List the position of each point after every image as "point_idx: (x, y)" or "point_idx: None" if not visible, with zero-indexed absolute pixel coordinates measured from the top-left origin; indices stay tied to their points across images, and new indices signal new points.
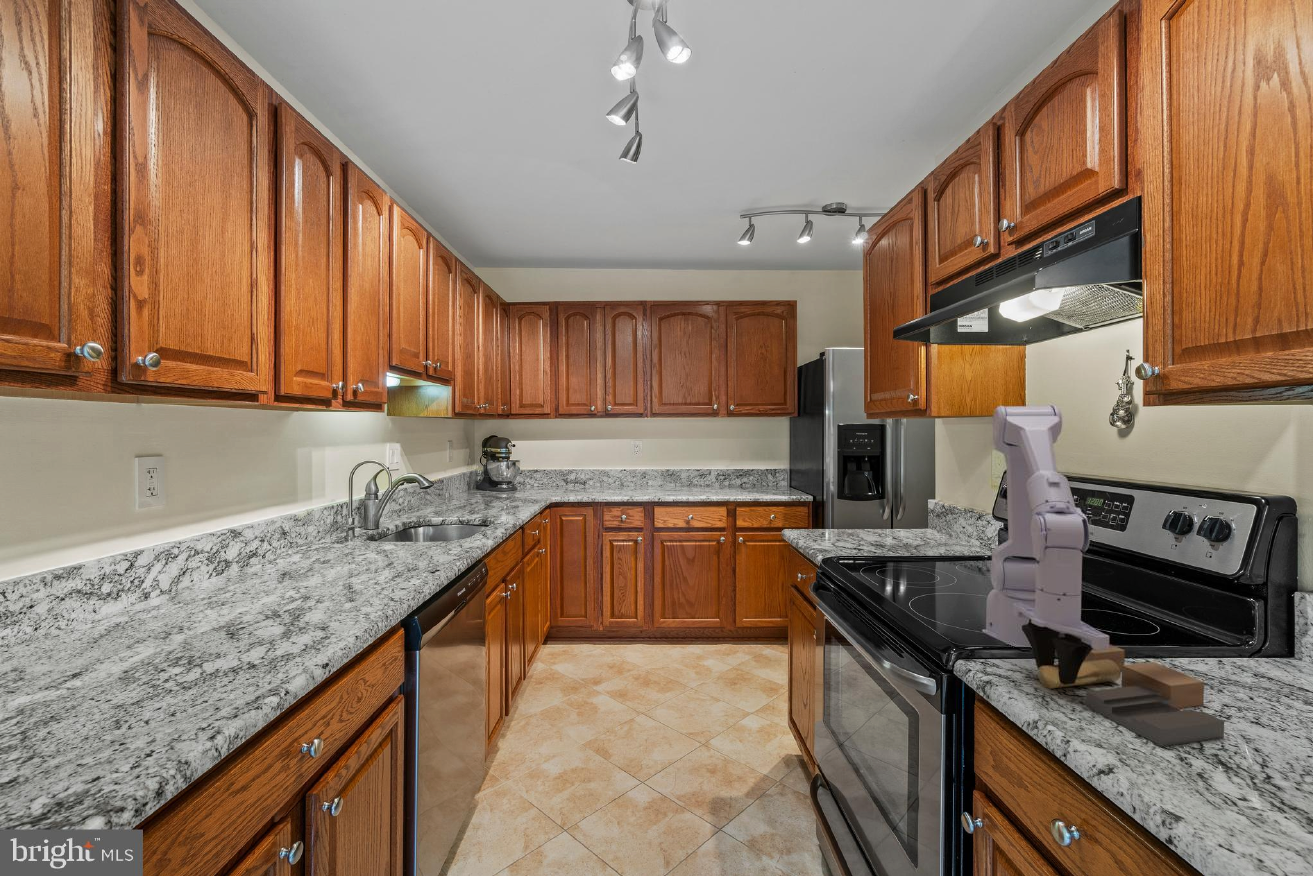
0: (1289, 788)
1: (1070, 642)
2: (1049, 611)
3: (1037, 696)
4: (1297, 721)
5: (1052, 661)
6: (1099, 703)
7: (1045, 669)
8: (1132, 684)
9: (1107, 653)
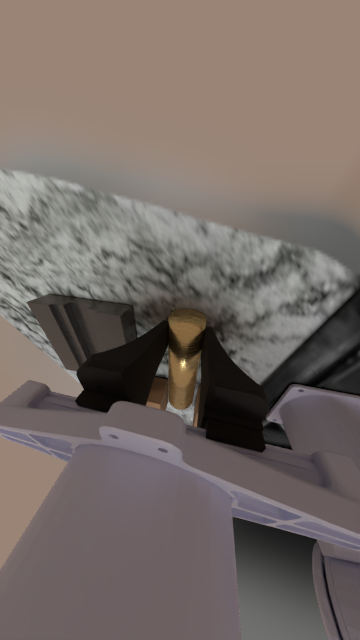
0: (16, 324)
1: (85, 380)
2: (47, 565)
3: (174, 269)
4: None
5: (201, 356)
6: (105, 309)
7: (188, 324)
8: (154, 384)
9: (194, 421)
